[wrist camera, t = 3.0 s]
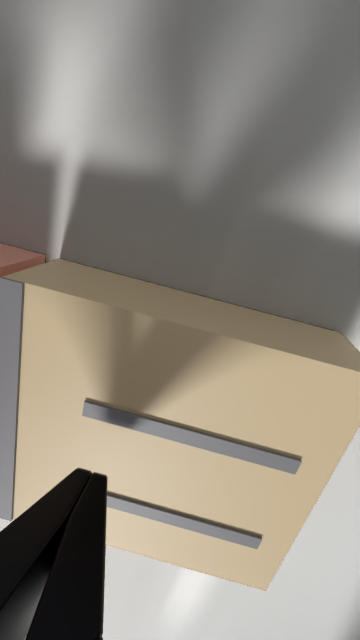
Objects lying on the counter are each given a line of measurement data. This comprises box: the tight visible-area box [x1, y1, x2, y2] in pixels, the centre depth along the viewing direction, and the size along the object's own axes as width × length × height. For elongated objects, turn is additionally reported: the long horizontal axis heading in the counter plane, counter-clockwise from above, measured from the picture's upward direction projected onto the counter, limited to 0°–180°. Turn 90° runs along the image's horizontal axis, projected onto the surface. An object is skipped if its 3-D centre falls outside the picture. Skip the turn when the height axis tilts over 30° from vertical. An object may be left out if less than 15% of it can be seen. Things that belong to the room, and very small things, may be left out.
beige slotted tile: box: [0, 259, 360, 591], centre depth 11 cm, size 10×9×3 cm
